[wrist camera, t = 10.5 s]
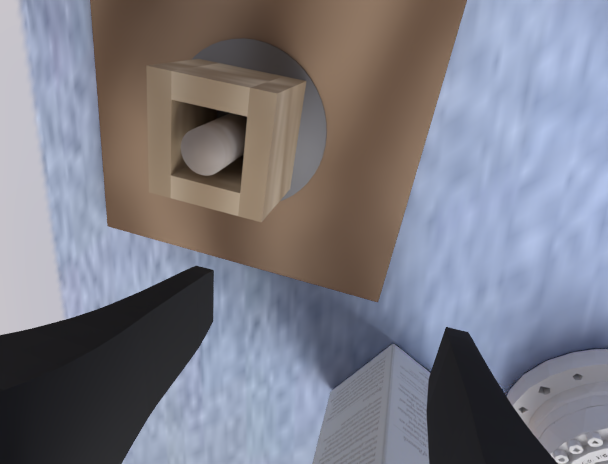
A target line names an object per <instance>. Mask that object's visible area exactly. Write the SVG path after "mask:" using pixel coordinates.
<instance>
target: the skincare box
mask: <svg viewBox="0 0 608 464" xmlns="http://www.w3.org/2000/svg"><path fill="white" fill-rule="evenodd" d="M430 374H431V373H430V372H429V371H428V370H426V369H425V368H424V367H423V366H421V365H420V364H419V363H418V362H416V361H415V360H414V359H413V358H411V357H410V356H409V355H408V354H406V353H405V352H404V351H403V350H401V349H400V348H399V347H398V346H396V345H395V344H392V345H390V346H389V347H388V348H387V349H385V350H384V351H383V352H381V353H380V354H379V355H377V356H376V357H375V358H374V359H372V360H371V361H370V362H368V363H367V364H366V365H365V366H363V367H362V368H361V369H359V370H358V371H357V372H355V373H354V374H353V375H352V376H350V377H349V378H348V379H346V380H345V381H344V382H342V383H341V384H340V385H339V386H337V387H336V388H335V389H333V390H332V391H331V392H330V396H329V400H328V404H327V407H326V412H325V415H324V419H323V423H322V427H321V431H320V435H319V439H318V443H317V447H316V451H315V455H314V459H313V464H429V450H428V432H427V412H426V411H427V395H428V381H429V376H430Z"/></svg>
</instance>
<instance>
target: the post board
mask: <svg viewBox="0 0 608 464" xmlns="http://www.w3.org/2000/svg"><path fill="white" fill-rule="evenodd" d="M466 2H467V0H90V3H91V16H92V29H93V42H94V55H95V68H96V81H97V94H98V107H99V120H100V133H101V146H102V159H103V172H104V185H105V198H106V211H107V224H108V226H109V227H112V228H116V229H119V230H123V231H127V232H130V233H134V234H137V235H141V236H144V237H148V238H151V239H155V240H158V241H162V242H166V243H169V244H173V245H176V246H180V247H183V248H187V249H190V250H194V251H197V252H201V253H205V254H208V255H212V256H215V257H219V258H222V259H226V260H229V261H233V262H236V263H240V264H244V265H247V266H251V267H254V268H258V269H261V270H265V271H268V272H272V273H276V274H279V275H283V276H286V277H290V278H293V279H297V280H300V281H304V282H307V283H311V284H315V285H318V286H322V287H325V288H329V289H332V290H336V291H339V292H343V293H346V294H350V295H354V296H357V297H361V298H364V299H368V300H371V301H375V302H378V301H379V297H380V294H381V291H382V287H383V284H384V280H385V277H386V274H387V270H388V267H389V263H390V260H391V257H392V253H393V250H394V246H395V243H396V240H397V236H398V233H399V229H400V226H401V223H402V219H403V216H404V212H405V209H406V206H407V202H408V199H409V195H410V192H411V189H412V185H413V182H414V179H415V175H416V172H417V168H418V165H419V162H420V158H421V155H422V151H423V148H424V145H425V141H426V138H427V134H428V131H429V128H430V124H431V121H432V117H433V114H434V111H435V107H436V104H437V100H438V97H439V94H440V90H441V87H442V83H443V80H444V77H445V73H446V70H447V66H448V63H449V60H450V56H451V53H452V49H453V46H454V43H455V39H456V36H457V32H458V29H459V26H460V22H461V19H462V15H463V12H464V9H465V5H466ZM193 59H202V60H207V61H212V62H217V63H222V64H227V65H231V66H236V67H241V68H246V69H251V70H256V71H260V72H265V73H270V74H275V75H280V76H285V77H289V78H294V79H299V80H304V81H306V87H305V94H304V101H303V107H302V114H301V120H300V127H299V133H298V140H297V147H296V153H295V160H294V166H293V173H292V180H291V186H290V190H289V191H288V192H287V193H286V194H285V196H284V197H283V198H282V199H281V200H280V201H279V203H278V204H277V205H276V206H275V207H274V208H273V210H272V211H271V212H270V213H269V214H268V215H267V217H266V218H265V219H264V220H263V221H262V222H258V221H254V220H251V219H247V218H243V217H239V216H236V215H232V214H228V213H224V212H221V211H217V210H213V209H209V208H206V207H202V206H198V205H194V204H191V203H187V202H183V201H179V200H176V199H172V198H168V197H164V196H161V195H157V194H153V193H149V173H148V122H147V71H146V66H147V65H155V64H163V63H170V62H178V61H186V60H193ZM246 125H247V116H242V115H238V114H233V113H229V112H225V111H220V110H217V118H216V119H215V120H213V121H211V122H208V123H206V124H204V125H201V126H199V127H197V128H194V129H192V130H190V131H188V132H187V133H186V134H185V135H184V137H183V139H182V142H181V154H182V157H183V159H184V161H185V163H186V164H187V166H188V167H189V168H190V169H191V170H193V171H194V172H196V173H198V174H200V175H205V176H209V175H213V174H215V173H217V172H219V171H220V170H221V169H223V168H224V167H226V166H227V165H229V164H230V163H232V162H233V161H235V160H236V159H238V158H239V157H244V147H245V136H246Z"/></svg>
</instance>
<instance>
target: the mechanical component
mask: <svg viewBox="0 0 608 464" xmlns="http://www.w3.org/2000/svg"><path fill="white" fill-rule="evenodd" d="M507 398H508V400H509V401H510V403H511V404H512V406H513V407H514V409H515V410H516V411H517V413H518V414H519V416H520V417H521V418H522V420H523V421H524V423H525V424H526V425H527V427H528V428H529V429H530V430H531V432H532V433H533V434H534V436H535V437H536V438H537V439H538V440H539V442H540V443H541V444H542V445H543V446H544V448H545V449H546V450H547V451H548V453H549V454H550V455H551V456H552V457H553V458H554V460H555V461H556V462H557V463H558V464H608V349H592V350H586V351H579V352H573V353H569V354H566V355H563V356H560V357H557V358H554V359H550V360H547V361H545V362H544V363H542V364H540V365H539V366H537V367H535V368H534V369H532V370H530V371H529V372H527V373H526V374H524V375H523V376H522V377H521V378H520V379H519V380H518V381H517V382H516V383H515V385H514V386H513V387H512V388H511V389H510V390H509V392H508V395H507Z"/></svg>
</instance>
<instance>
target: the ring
mask: <svg viewBox="0 0 608 464" xmlns="http://www.w3.org/2000/svg"><path fill="white" fill-rule="evenodd" d="M146 71H147V122H148V173H149V193H153V194H157V195H161V196H164V197H168V198H172V199H176V200H179V201H183V202H187V203H191V204H194V205H198V206H202V207H206V208H209V209H213V210H217V211H221V212H224V213H228V214H232V215H236V216H239V217H243V218H247V219H251V220H254V221H258V222H262V221H263V220H264V219H265V218H266V217H267V215H268V214H269V213H270V212H271V211H272V210H273V208H274V207H275V206H276V205H277V204H278V203H279V201H280V200H281V199H282V198H283V197H284V196H285V194H286V193H287V192H288V191H289V190H290V186H291V180H292V173H293V166H294V160H295V153H296V147H297V140H298V133H299V127H300V120H301V114H302V107H303V101H304V94H305V87H306V81H304V80H299V79H294V78H289V77H285V76H280V75H275V74H270V73H265V72H260V71H256V70H251V69H246V68H241V67H236V66H231V65H227V64H222V63H217V62H212V61H207V60H202V59H193V60H186V61H178V62H170V63H163V64H155V65H147V66H146ZM217 110H220V111H225V112H229V113H233V114H238V115H242V116H247V125H246V136H245V147H244V157H239V158H238V159H236V160H235V161H233V162H232V163H230V164H229V165H227V166H226V167H224V168H223V169H221V170H220V171H219V172H217V173H215V174H213V175H209V176H205V175H200V174H198V173H196V172H194V171H193V170H191V169H190V168H189V167H188V166H187V164H186V163H185V161H184V159H183V157H182V154H181V142H182V139H183V137H184V135H185V134H186V133H187V132H188V131H190V130H192V129H194V128H197V127H199V126H201V125H204V124H206V123H208V122H211V121H213V120H215V119H216V118H217Z"/></svg>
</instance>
